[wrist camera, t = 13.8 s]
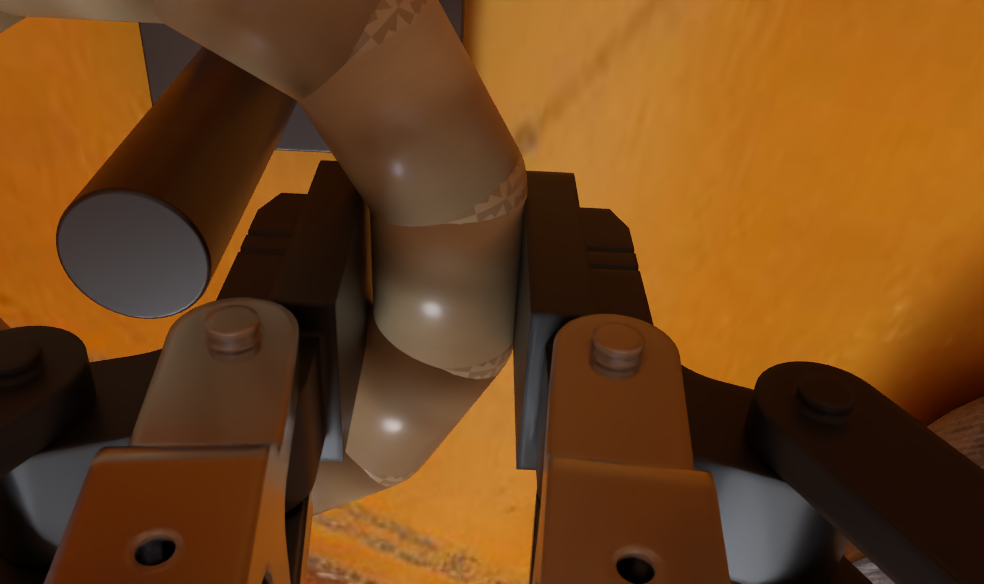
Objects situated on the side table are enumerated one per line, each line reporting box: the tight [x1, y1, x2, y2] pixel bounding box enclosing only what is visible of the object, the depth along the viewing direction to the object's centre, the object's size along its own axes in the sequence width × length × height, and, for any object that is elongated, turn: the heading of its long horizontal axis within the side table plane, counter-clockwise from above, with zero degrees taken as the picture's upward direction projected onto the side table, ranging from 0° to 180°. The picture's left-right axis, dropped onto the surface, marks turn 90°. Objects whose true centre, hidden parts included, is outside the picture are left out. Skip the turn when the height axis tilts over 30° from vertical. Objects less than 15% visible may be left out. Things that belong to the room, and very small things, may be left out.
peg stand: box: [56, 0, 465, 319], centre depth 17 cm, size 8×8×13 cm
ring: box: [0, 0, 528, 516], centre depth 12 cm, size 10×10×2 cm
